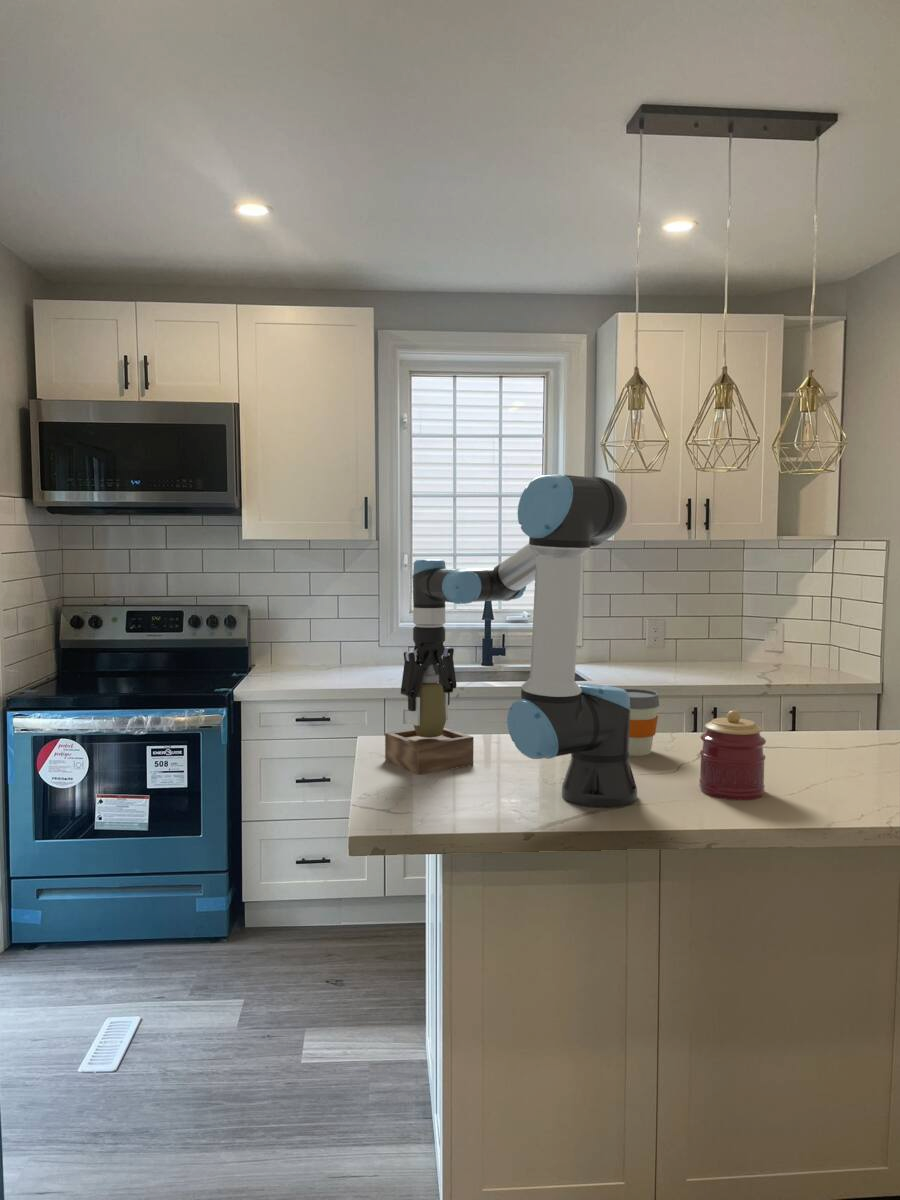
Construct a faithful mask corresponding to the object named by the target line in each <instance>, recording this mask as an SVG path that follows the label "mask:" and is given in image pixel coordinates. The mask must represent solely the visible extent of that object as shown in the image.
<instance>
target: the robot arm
mask: <svg viewBox="0 0 900 1200" xmlns="http://www.w3.org/2000/svg"><path fill="white" fill-rule="evenodd" d="M627 514H628V504H627V500H626V496H625V494H624V492H623V491H622V489H621V488H620V486H618V485H617V483H615V482H614V481H612V480H609V479H608V478H604V477H601V476H600V477H599V476H582V475H568V474H560V473H558V474H545V475H539V476H537V477H535V478H534V479H532V480H531V481H530V482H529V484H528V486H527V485H526V487H525V488H524V489H523V492H522V493H521V495H520V497H519V502H518V505H517V522H518V524H519V525H520V529H521V531H522V532H523V533H524V534H525V535H526V536H528V538H529V540H528V543H527V544H526V545H524V546H523V547H522V548H520V549H519V550H518V551H516V552H514V553H513V554H511V555H510V556H509V557H508V558H506V559H505V560H503V561H502V562H501V563H499V564H497V565H496V566H495V567H488V568H487V567H486V568H482V567H481V568H446V567H447V566H446V562H445V560H444V559H438V558H434V559H433V558H427V559H426V558H424V559H423V558H422V559H419V558H418V559H416V560H415V561H414V562H413V568H412V569H413V571H412V605H413V607H412V608H413V609H412V613H413V615H412V623H413V624H414V626H413V628H412V640H413V643H414V648H413V650H412V651H404V652H403V661H404V664H403V671H402V679H401V685H400V686H401V687H400V694H401V695H403V696H406V697H407V710H408V711H409V724H410V725H411V726H412V725H413V726H414V725H417V726H419V725H420V697H417V695H418V692H419V689H420V685H421V682H422V679H423V676H424V673H425V670H427V668H428V666H430V665H433V669H434V673H435V674H438V675H439V682H437V683H440V684H441V685H442V686H443V692H444V702H445V712H446V721H448V720H449V705H450V702H451V701H450V698H451V697H450V695H451V694H450V693H453V692H454V689H456V688H457V679H456V673H455V672H456V670H455V663H454V654H455V653H454V652H455V649H454V648H453V647H446V646H444V643H445V641H446V627H445V626H444V625H445V624H446V602H447V603H454V605H455V604H456V605H463V604H464V605H465V604H470V603H473V602H474V603H476V602H496V601H497V602H498V601H500V602H501V601H504V602H508V601H509V602H510V601H511V600H512V601H513V600H517V599H520V598H521V597H522V596H523V595H524V593H525V591H526V589H527V586H528V585H530V584H531V583H533V582H534V593H533V594H534V595H533V596H534V597H533V613H532V614H533V616H532V630H531V631H532V635H531V650H530V670H529V678H528V679H527V680H526V681H525V682H524V683H522V684H521V689H520V690H521V691H520V692H521V693H520V698H519V699H517V700H515V701H514V702H512V704H511V706H509V709H508V711H507V715H506V716H507V717H506V724H507V729H508V734H509V736H510V739H511V741H512V742H513V744H514V745H515V747H516V748H517V750H518V751H519V752H520V753H521V754H522V755H524V757H526V758H528V759H532V760H540V759H541V760H542V759H547V760H548V759H554V758H556V757H560V756H561V757H562V756H565V755H566V756H567V755H570V754H571V756H570V761H569V765H568V766H567V770H566V773H565V777H564V780H563V782H562V784H561V785H562V786H561V796H562V798H563V799H564V800H565V801H566V802H569V803H571V804H574V805H577V806H581V807H588V808H595V809H596V808H597V809H614V808H615V809H617V808H623V807H628V806H631V805H633V804H635V803H636V802H637V801H638V787H637V784H636V779H635V777H634V774H633V771H632V767H631V765H630V764H631V763H630V756H629V736H630V711H631V709H630V697H629V694H628V693H627V691H625V690H624V689H625V688H620V687H617V686H616V687H615V686H612V685H611V686H609V685H603V684H597V683H584V682H583V683H581V682H576V681H575V679H576V678H575V677H576V662H577V644H578V629H579V612H580V598H581V597H580V595H581V582H582V581H581V580H582V579H581V577H582V563H583V561H582V560H583V557H584V555H585V554H586V553H587V552H588V551H590V550H591V548H594V547H597V546H600V545H601V544H603V543H604V542H605V541H607V540H609V539H610V538H612V537H613V536H614V535H615V534H617V533H618V532H619V531H620V529H622V527H623V525H624V523H625V522H626V518H627Z"/></svg>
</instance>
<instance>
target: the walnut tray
mask: <svg viewBox="0 0 900 1200" xmlns="http://www.w3.org/2000/svg"><path fill="white" fill-rule="evenodd" d="M384 737H385V738H384V745H385V747H384V748H385V749H384V751H385V752H384V754H385V755H384V761H385V762H387V763H390V764H391V765H395V766H396V767H399V768H401V769H404V770H407V771H408V772H412V773H414V774H416V775H418V776H420V775H427V774H432V773H437V772H442V771H448V769H449V770H453V769H452V768H454V769H457V768H456V767H460V768H463V767H462V766H465V767H469V766H468V765H471V766H474V736H471V735H469V734H466V733H463V732H460V731H457V730H453V729H450V728H447V727H444V729H443V732H442V735H441V736H438V737H432V738H426V737H420V736H417V734H416V731H415V728H412V729H411V728H410V729H403V730H397V731H391V732H384Z"/></svg>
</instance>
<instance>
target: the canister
mask: <svg viewBox="0 0 900 1200" xmlns="http://www.w3.org/2000/svg"><path fill="white" fill-rule="evenodd" d="M740 715H741V714H740V713H739V711H737V710H735V709H734V710H729V711H728V712H727V714H726V717H716V718H713V719H711V721H708V722H706V723H705V725H704V728H705V729H706V731H705V732H703V733H701V734H700V739H701V740H702V749H701V750H700V751H699V753H700V771H699V772H700V775H699V777H700V778H699V783H698V785H699V789H700V791H701V792H702V793H703V794H705V795H706V796H709V797H713V798H717V799H723V800H728V801H729V800H730V801H751V800H757V799H760V798H763V796H764V794H765V786H766V785H765V760H766V755H765V753H764V745H765V744H766V743H767V739H766V738H764V737H763V736H762V735H761V732H762V731H763V728H762V727H761V726H759V725H757V723H755V722H754V721H753V720H749V719H745V718H741V716H740Z"/></svg>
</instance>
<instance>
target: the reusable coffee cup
mask: <svg viewBox="0 0 900 1200" xmlns="http://www.w3.org/2000/svg"><path fill="white" fill-rule="evenodd" d="M623 689H624V690H625V691H627V693H628V694H629V697H630V709H631V711H630V736H629V757H630V756H631V757H633V756H634V757H639V756H648V755H651V752H652V746H653V740H654V736H655V735H656V731H657V727H658V726H657V725H658V719H659V716H658V715H657V713H658V708H659V707H660V699H659V693H658V692H656V691H653V690H648V689H641V688H640V689H639V688H623Z"/></svg>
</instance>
